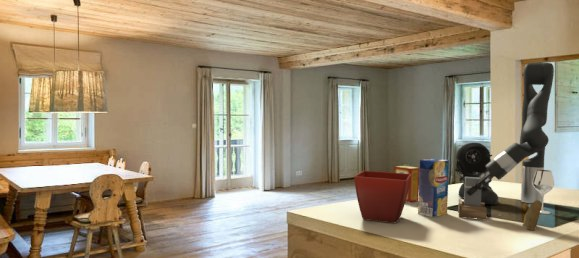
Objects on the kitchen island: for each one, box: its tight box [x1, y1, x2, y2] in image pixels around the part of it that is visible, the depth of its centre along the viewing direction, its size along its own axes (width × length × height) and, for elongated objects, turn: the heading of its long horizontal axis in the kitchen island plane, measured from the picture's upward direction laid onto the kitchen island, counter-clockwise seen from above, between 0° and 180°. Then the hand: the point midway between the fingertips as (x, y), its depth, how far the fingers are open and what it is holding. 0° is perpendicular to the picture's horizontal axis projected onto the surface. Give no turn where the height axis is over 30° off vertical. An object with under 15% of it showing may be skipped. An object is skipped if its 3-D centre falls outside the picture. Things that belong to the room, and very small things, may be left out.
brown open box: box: [457, 198, 488, 220], centre depth 180 cm, size 12×10×6 cm
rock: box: [522, 200, 542, 231], centre depth 163 cm, size 11×9×10 cm
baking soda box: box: [393, 165, 420, 203], centre depth 211 cm, size 10×6×16 cm
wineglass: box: [532, 169, 555, 215], centre depth 190 cm, size 8×8×18 cm
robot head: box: [454, 142, 499, 206], centre depth 217 cm, size 30×17×29 cm, turn 179°
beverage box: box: [417, 158, 450, 218], centre depth 181 cm, size 7×11×22 cm, turn 132°
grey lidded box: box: [463, 177, 482, 207], centre depth 180 cm, size 5×6×11 cm
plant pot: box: [353, 170, 411, 224], centre depth 171 cm, size 19×19×17 cm
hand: (467, 192), depth 181 cm, fingers closed on grey lidded box, 5 cm apart
